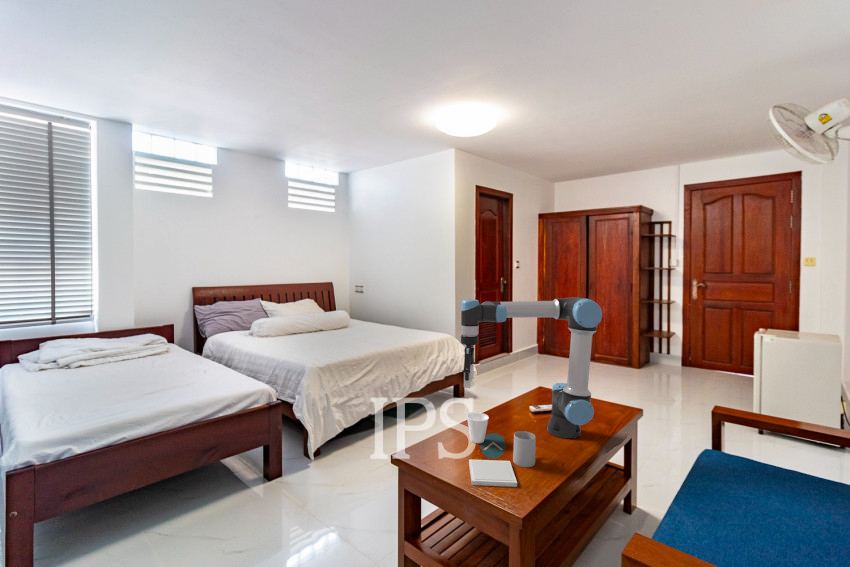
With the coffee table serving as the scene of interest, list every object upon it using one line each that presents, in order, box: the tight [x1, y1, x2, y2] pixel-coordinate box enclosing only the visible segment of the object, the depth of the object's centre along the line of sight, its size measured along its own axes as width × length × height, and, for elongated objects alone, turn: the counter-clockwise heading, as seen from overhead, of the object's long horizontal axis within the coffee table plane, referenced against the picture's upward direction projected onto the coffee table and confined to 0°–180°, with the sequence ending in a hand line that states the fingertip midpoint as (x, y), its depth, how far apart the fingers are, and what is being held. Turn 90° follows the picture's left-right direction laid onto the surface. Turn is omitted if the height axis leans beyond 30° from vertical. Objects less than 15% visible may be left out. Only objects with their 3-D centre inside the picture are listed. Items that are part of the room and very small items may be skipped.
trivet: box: [468, 459, 518, 488], centre depth 153 cm, size 16×16×2 cm
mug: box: [512, 430, 537, 468], centre depth 164 cm, size 12×8×11 cm
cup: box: [466, 412, 490, 444], centre depth 181 cm, size 10×10×11 cm
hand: (468, 383), depth 179 cm, fingers open, 13 cm apart
